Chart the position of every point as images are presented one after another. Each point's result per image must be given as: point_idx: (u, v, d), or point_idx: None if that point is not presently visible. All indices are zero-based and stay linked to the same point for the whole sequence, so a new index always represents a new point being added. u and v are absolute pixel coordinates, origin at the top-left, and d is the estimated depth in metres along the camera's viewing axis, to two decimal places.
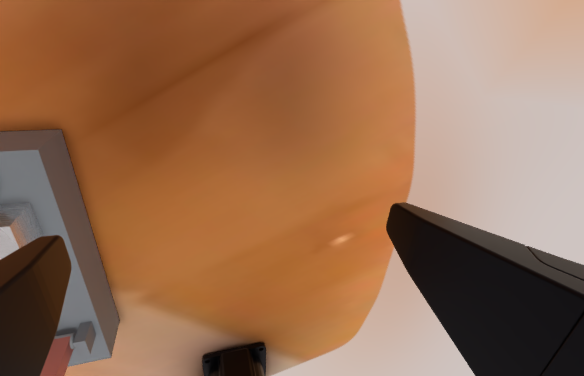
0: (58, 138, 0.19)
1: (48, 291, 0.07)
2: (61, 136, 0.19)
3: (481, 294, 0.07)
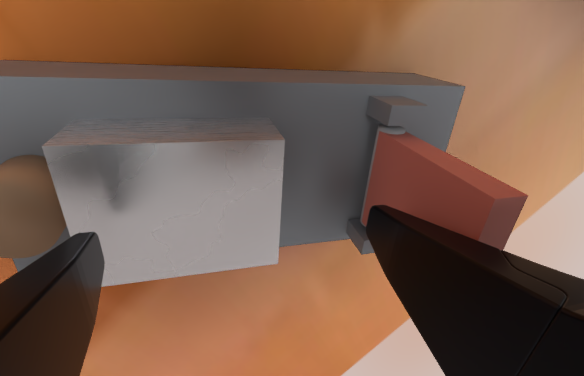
0: (0, 63, 0.11)
1: (88, 286, 0.07)
2: (9, 61, 0.11)
3: (454, 299, 0.07)
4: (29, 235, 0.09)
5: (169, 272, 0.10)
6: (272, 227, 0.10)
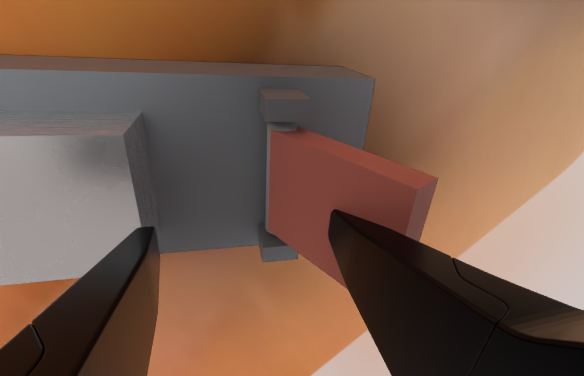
0: None
1: (153, 277, 0.07)
2: None
3: (403, 309, 0.07)
4: None
5: (19, 277, 0.09)
6: (132, 231, 0.10)
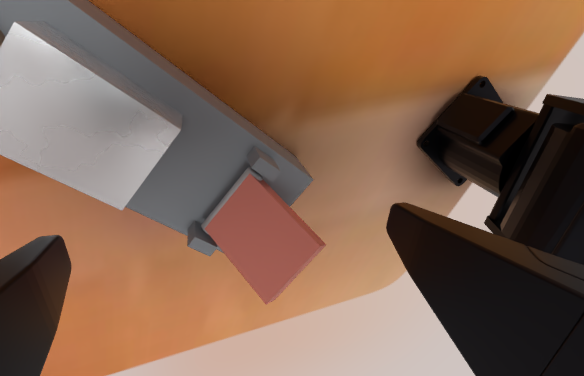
0: None
1: (48, 291, 0.07)
2: None
3: (480, 293, 0.07)
4: None
5: (33, 164, 0.12)
6: (135, 181, 0.14)
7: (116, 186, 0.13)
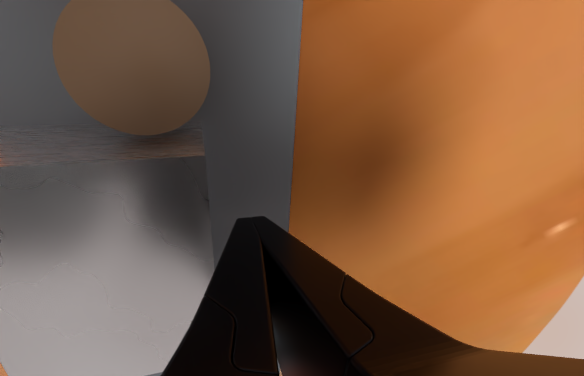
0: None
1: None
2: None
3: (292, 331, 0.06)
4: (112, 88, 0.05)
5: None
6: None
7: (61, 373, 0.07)
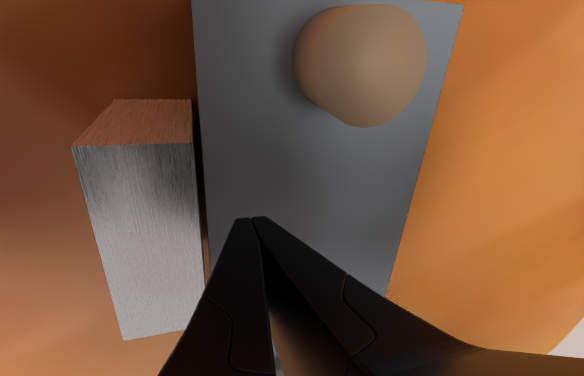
0: None
1: None
2: None
3: (294, 331, 0.06)
4: (352, 88, 0.07)
5: None
6: None
7: None
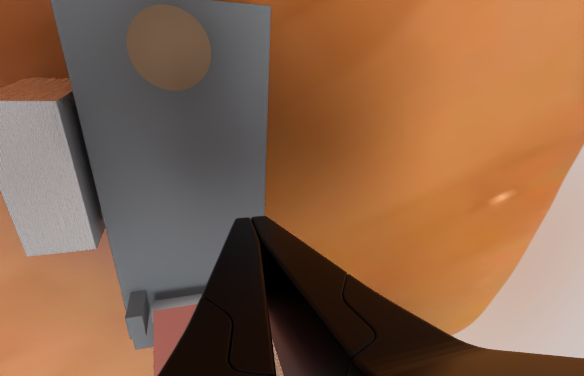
0: None
1: None
2: None
3: (294, 331, 0.06)
4: (156, 62, 0.10)
5: None
6: None
7: None
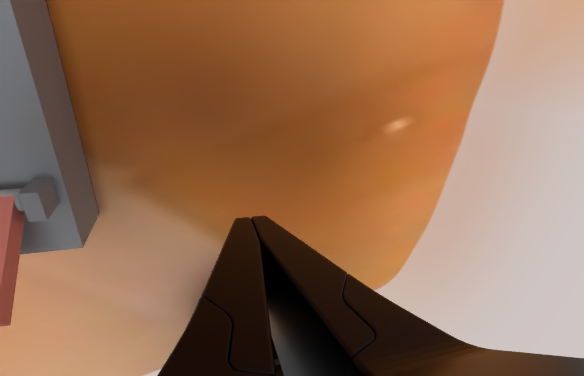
0: None
1: None
2: None
3: (293, 331, 0.06)
4: None
5: None
6: None
7: None
